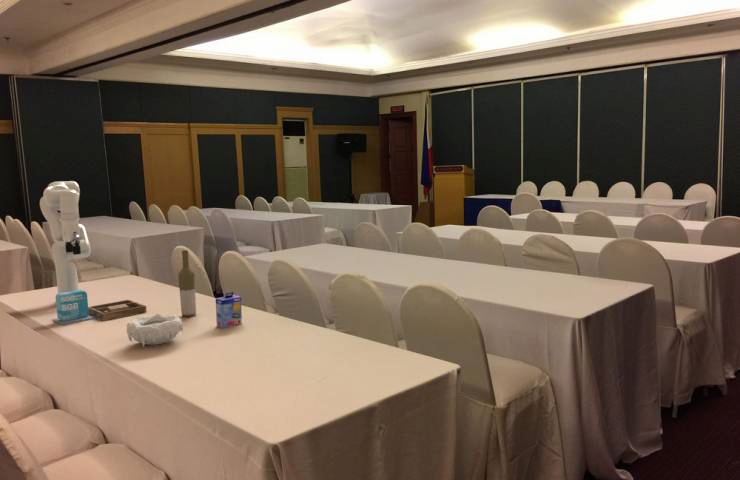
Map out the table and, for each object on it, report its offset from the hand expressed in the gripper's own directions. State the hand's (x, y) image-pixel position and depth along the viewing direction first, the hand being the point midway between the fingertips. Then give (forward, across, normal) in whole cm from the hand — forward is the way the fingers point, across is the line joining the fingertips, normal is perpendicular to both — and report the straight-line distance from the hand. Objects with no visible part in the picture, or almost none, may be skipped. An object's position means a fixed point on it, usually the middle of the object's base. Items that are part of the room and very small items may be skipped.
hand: (73, 253), depth 275 cm
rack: (+28, +15, +12) cm, 34 cm away
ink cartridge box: (+29, +75, +36) cm, 88 cm away
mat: (+28, +13, -6) cm, 32 cm away
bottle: (+28, +47, +32) cm, 64 cm away
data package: (+28, +13, -6) cm, 31 cm away
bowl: (+29, +76, +3) cm, 81 cm away
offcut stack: (+29, +19, +11) cm, 36 cm away
